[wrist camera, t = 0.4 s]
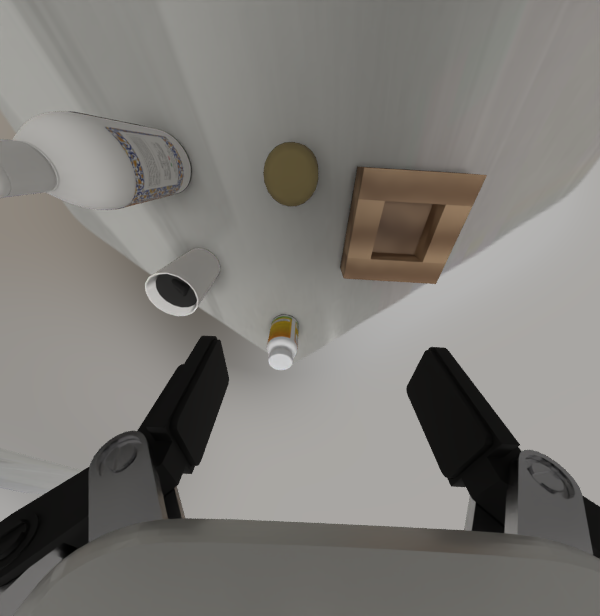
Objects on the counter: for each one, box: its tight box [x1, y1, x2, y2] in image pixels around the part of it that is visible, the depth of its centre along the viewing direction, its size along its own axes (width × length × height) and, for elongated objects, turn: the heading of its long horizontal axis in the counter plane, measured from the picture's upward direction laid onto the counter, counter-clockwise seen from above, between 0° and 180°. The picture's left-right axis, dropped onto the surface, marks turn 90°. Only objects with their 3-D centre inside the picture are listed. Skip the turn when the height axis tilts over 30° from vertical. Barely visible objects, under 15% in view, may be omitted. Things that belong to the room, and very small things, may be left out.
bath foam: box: [0, 111, 191, 210], centre depth 20 cm, size 7×7×20 cm
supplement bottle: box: [267, 315, 299, 370], centre depth 39 cm, size 5×5×10 cm
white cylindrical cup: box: [145, 248, 220, 316], centre depth 32 cm, size 7×7×10 cm
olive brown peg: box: [264, 142, 318, 206], centre depth 24 cm, size 6×6×11 cm
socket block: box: [340, 167, 487, 284], centre depth 30 cm, size 14×14×4 cm
